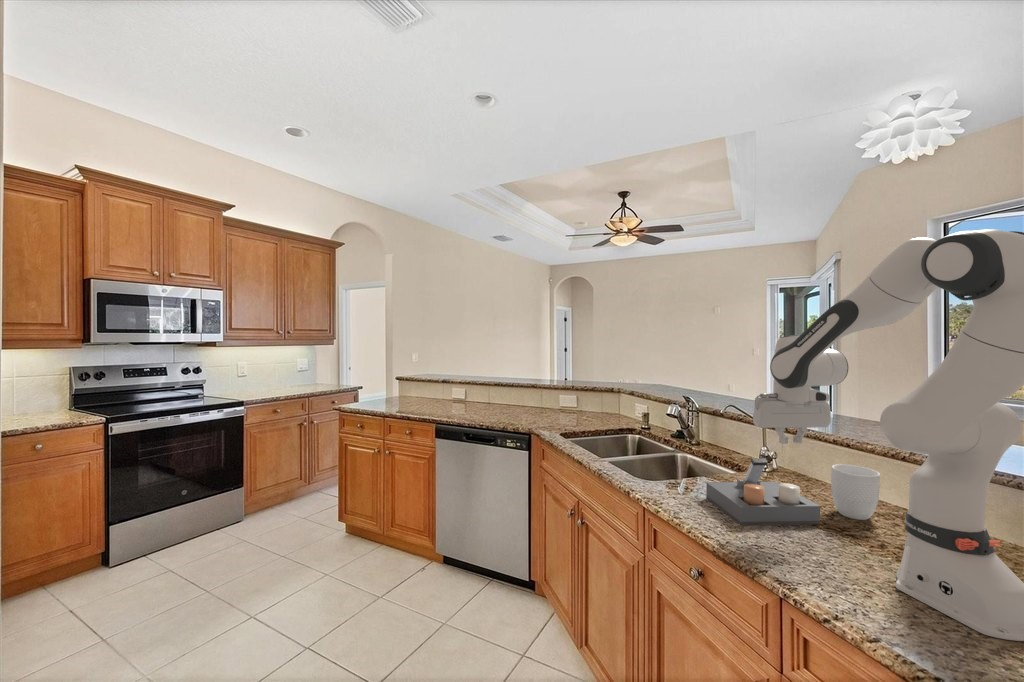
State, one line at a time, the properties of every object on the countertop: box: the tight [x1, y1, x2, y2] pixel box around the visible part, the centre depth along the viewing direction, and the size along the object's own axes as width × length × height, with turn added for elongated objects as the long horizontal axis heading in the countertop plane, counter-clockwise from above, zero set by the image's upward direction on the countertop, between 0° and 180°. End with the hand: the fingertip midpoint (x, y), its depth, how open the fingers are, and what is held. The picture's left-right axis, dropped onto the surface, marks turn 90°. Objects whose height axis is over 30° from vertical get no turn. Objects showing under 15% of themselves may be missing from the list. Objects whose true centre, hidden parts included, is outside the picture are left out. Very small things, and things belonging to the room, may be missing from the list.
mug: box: [830, 463, 881, 521], centre depth 128 cm, size 15×11×13 cm
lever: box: [742, 457, 769, 486], centre depth 132 cm, size 2×4×11 cm
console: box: [705, 478, 821, 526], centre depth 130 cm, size 19×22×7 cm
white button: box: [778, 482, 801, 505], centre depth 124 cm, size 5×5×5 cm
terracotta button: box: [744, 484, 765, 505], centre depth 124 cm, size 5×5×5 cm
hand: (790, 443), depth 124 cm, fingers open, 3 cm apart
